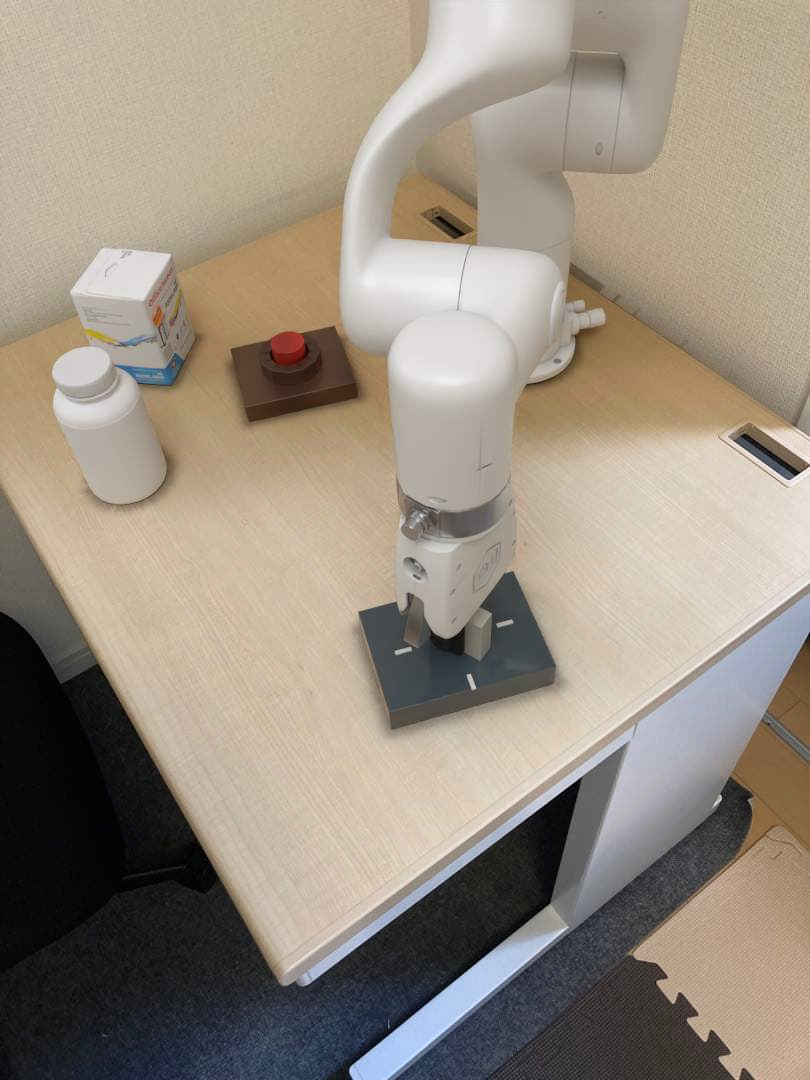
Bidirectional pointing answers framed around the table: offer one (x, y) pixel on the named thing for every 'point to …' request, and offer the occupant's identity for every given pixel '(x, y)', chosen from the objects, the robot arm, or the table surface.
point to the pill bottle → (107, 426)
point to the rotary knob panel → (456, 660)
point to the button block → (294, 376)
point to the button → (288, 348)
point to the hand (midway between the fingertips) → (454, 634)
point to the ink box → (135, 313)
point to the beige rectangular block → (478, 634)
